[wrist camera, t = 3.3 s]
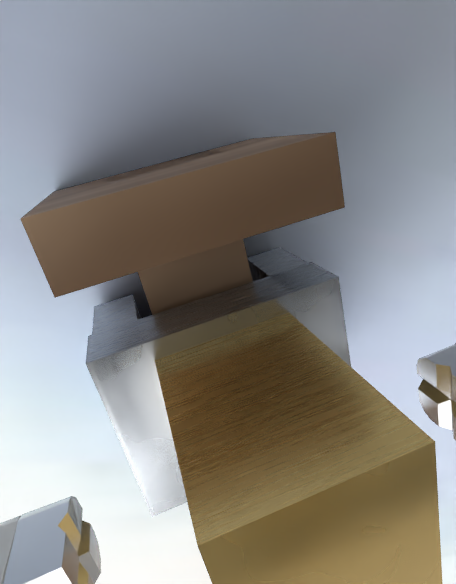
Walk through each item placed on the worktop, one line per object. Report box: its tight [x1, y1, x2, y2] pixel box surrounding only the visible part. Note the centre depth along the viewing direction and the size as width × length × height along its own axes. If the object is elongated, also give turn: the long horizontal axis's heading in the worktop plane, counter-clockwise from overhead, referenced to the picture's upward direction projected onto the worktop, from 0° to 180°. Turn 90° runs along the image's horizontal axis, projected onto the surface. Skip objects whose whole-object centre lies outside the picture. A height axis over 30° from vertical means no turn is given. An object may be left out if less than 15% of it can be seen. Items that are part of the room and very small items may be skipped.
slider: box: [86, 247, 442, 584], centre depth 10 cm, size 5×6×9 cm
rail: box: [21, 132, 345, 315], centre depth 14 cm, size 24×6×5 cm, turn 14°
